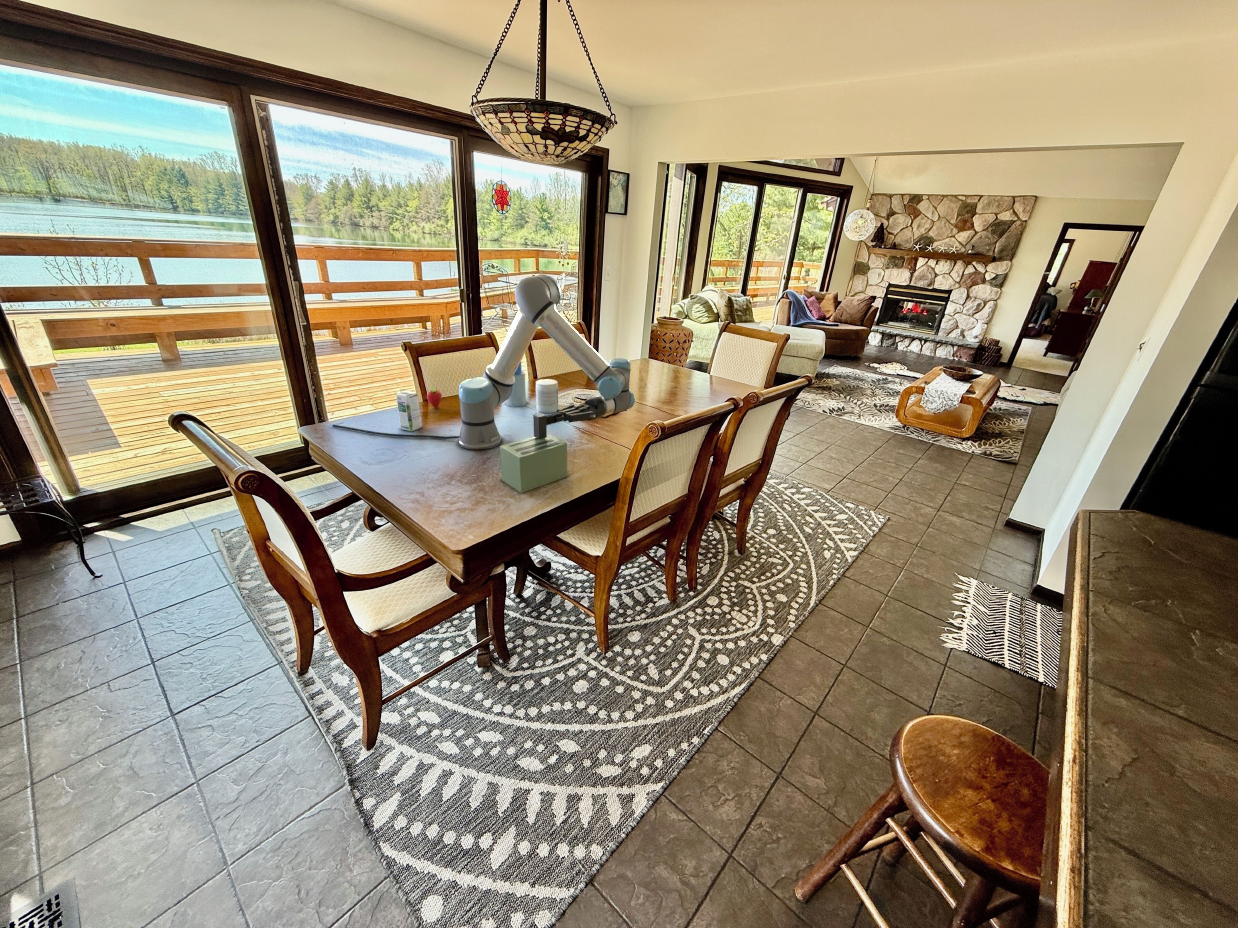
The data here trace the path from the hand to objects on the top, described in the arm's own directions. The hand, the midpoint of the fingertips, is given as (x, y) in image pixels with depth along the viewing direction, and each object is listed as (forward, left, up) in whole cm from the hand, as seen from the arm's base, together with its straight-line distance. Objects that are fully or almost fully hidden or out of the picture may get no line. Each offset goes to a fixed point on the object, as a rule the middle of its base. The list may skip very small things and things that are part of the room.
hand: (545, 420), depth 156 cm
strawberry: (-74, +28, -18) cm, 82 cm away
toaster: (+1, -8, -17) cm, 19 cm away
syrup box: (-65, +5, -18) cm, 68 cm away
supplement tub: (-28, +47, -18) cm, 58 cm away
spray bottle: (-48, +52, -18) cm, 73 cm away
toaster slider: (-1, -2, -5) cm, 5 cm away
